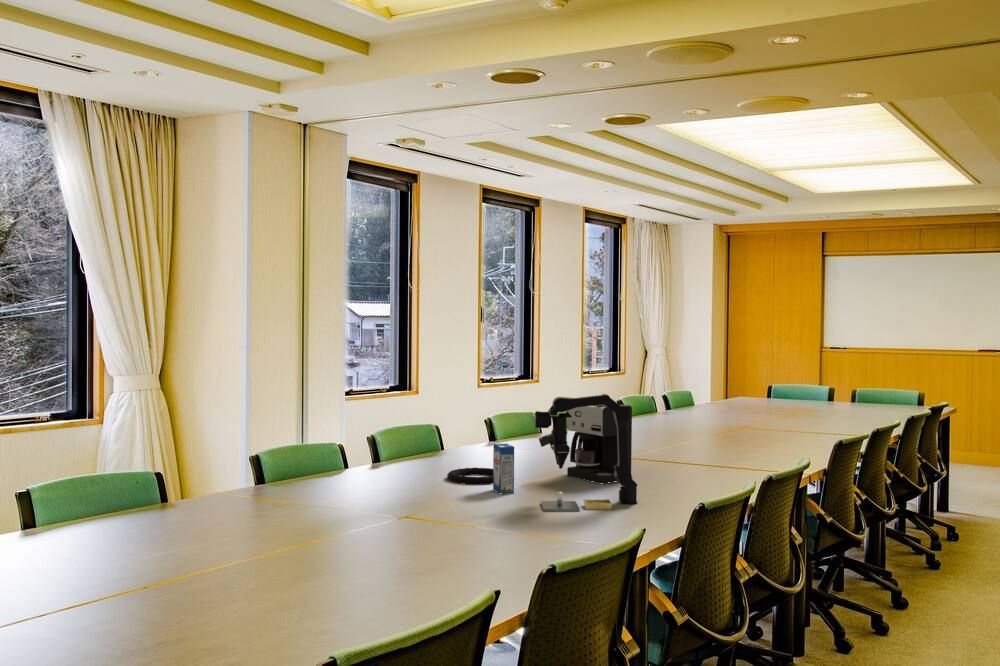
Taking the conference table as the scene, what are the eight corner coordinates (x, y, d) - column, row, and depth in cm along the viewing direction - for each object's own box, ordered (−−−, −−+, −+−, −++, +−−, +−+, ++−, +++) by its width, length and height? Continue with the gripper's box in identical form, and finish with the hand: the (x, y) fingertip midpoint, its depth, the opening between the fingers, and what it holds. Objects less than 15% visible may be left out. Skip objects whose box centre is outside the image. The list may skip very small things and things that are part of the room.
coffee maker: (560, 475, 412) (561, 401, 411) (590, 471, 423) (591, 399, 423) (601, 484, 389) (602, 407, 388) (631, 479, 401) (632, 404, 400)
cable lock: (455, 465, 415) (516, 468, 409) (455, 473, 416) (516, 476, 409) (439, 475, 388) (505, 478, 382) (439, 484, 388) (505, 487, 382)
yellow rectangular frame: (608, 505, 345) (608, 499, 345) (611, 509, 339) (611, 503, 339) (583, 505, 345) (583, 499, 345) (586, 509, 338) (586, 503, 338)
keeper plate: (575, 503, 349) (575, 488, 348) (579, 511, 335) (579, 496, 334) (540, 503, 348) (540, 488, 348) (543, 511, 334) (543, 496, 334)
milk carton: (513, 493, 368) (514, 446, 367) (500, 494, 366) (500, 447, 365) (506, 488, 377) (507, 443, 377) (493, 489, 375) (493, 443, 375)
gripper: (538, 425, 359) (537, 462, 359) (542, 431, 340) (541, 470, 340) (564, 425, 359) (564, 462, 359) (570, 431, 340) (569, 470, 341)
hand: (559, 466), depth 350 cm, fingers open, 9 cm apart
